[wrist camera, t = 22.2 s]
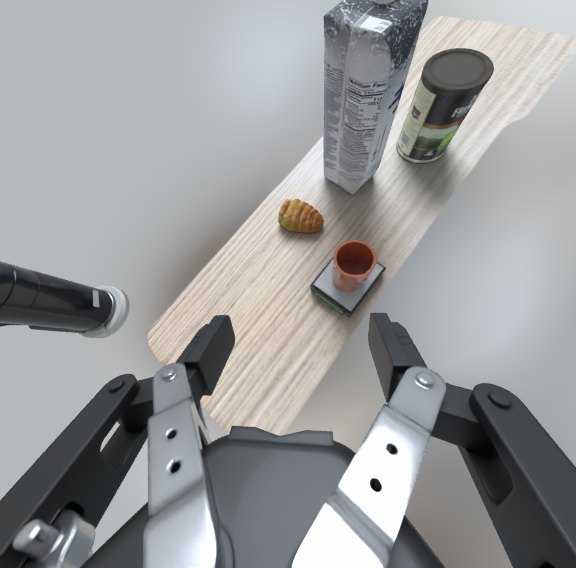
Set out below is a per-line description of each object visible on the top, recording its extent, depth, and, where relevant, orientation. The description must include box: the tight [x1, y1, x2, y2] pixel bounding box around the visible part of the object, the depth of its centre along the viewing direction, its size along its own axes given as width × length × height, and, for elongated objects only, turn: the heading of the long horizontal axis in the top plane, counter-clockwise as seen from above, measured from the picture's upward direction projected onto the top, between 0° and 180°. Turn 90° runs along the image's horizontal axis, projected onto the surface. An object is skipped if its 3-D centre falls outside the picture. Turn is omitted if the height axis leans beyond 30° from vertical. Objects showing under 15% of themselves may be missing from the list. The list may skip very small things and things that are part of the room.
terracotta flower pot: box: [332, 240, 376, 292], centre depth 36 cm, size 6×6×8 cm
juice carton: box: [324, 0, 428, 195], centre depth 36 cm, size 9×10×27 cm
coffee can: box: [397, 48, 494, 163], centre depth 42 cm, size 10×10×14 cm
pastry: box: [278, 199, 324, 233], centre depth 46 cm, size 9×7×4 cm
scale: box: [310, 257, 386, 317], centre depth 41 cm, size 11×9×3 cm
